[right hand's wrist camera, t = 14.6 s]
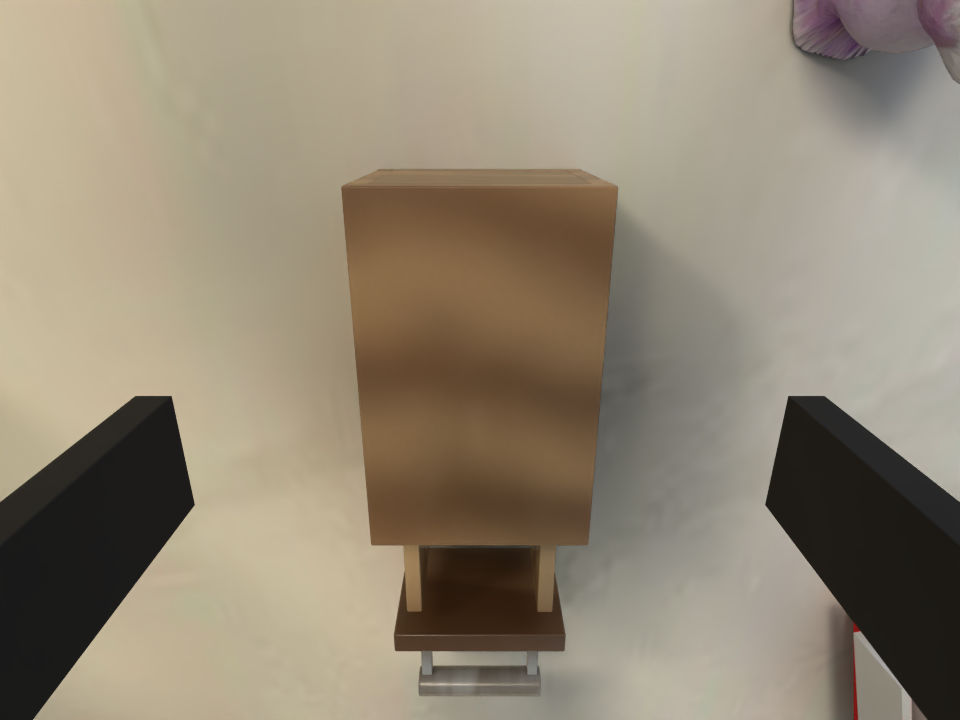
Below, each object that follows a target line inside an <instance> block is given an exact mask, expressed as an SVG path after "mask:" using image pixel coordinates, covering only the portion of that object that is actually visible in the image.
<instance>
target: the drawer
mask: <svg viewBox="0 0 960 720" xmlns="http://www.w3.org/2000/svg"><path fill="white" fill-rule="evenodd" d="M529 546H530V548H430V545H403V547H404V564H405V572H404V578H403V584H402V590H401V596H400V602H399V607H398V613H397V619H396V625H395V631H394V645H395V651H421V656H422V666H421V667H420V672H419V696H540V692H541V681H540V669H539V666H537V663H538V651H564V649H565V629H564V623H563V617H562V611H561V605H560V599H559V593H558V587H557V581H556V575H555V555H556V545H529ZM432 651H527V665H526V666H433V656H432Z"/></svg>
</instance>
